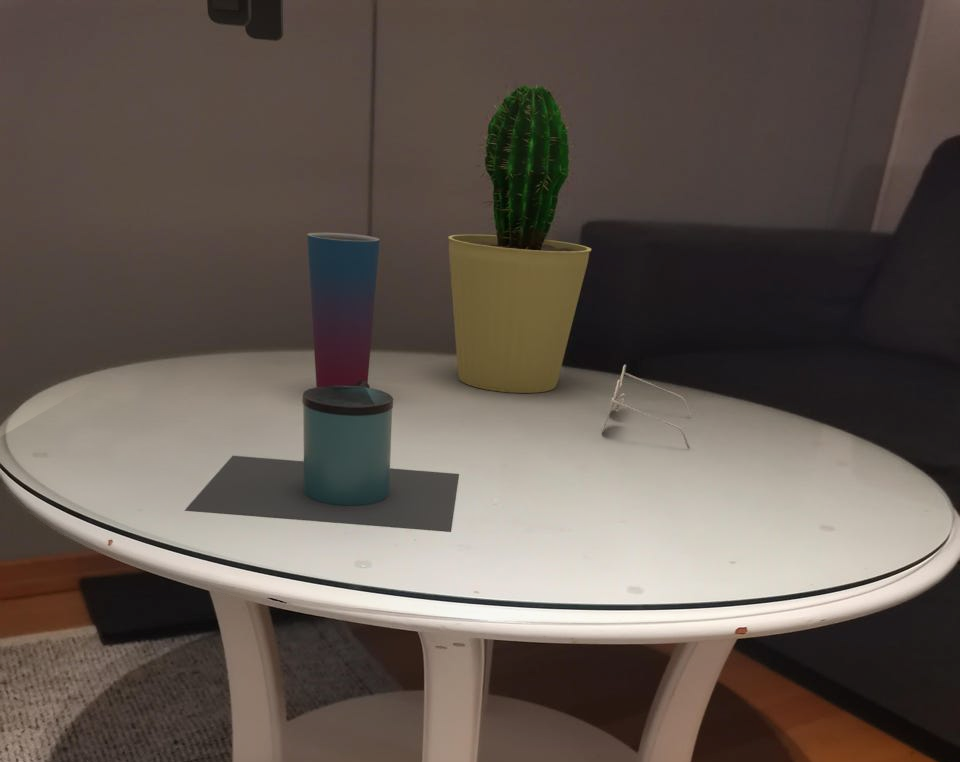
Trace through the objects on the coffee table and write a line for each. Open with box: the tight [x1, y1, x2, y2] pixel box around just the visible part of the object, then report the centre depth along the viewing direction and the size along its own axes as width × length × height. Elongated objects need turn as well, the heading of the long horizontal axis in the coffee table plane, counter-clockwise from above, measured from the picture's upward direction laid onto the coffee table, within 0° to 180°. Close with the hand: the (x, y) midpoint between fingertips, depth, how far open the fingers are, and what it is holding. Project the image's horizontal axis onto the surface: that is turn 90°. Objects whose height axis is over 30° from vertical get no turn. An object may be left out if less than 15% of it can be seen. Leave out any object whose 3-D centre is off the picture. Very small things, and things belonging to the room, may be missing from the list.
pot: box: [302, 381, 394, 505], centre depth 72 cm, size 6×12×7 cm, turn 179°
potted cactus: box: [447, 79, 592, 394], centre depth 104 cm, size 15×15×30 cm
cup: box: [306, 232, 380, 388], centre depth 96 cm, size 7×7×15 cm
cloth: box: [184, 455, 460, 533], centre depth 71 cm, size 18×13×1 cm
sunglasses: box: [601, 364, 693, 450], centre depth 96 cm, size 14×8×5 cm, turn 168°
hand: (248, 32), depth 57 cm, fingers open, 8 cm apart
